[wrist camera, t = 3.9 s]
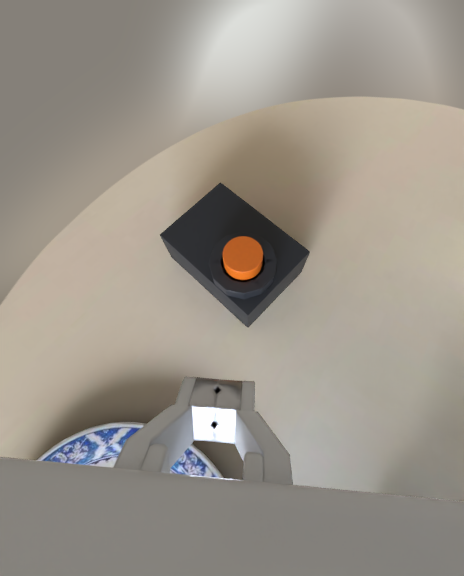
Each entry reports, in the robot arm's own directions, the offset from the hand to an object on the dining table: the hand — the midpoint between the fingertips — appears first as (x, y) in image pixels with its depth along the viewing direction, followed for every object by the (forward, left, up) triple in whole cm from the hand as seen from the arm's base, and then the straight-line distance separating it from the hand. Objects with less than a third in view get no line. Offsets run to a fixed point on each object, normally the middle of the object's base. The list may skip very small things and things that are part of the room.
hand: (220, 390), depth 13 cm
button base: (-12, -11, -22) cm, 28 cm away
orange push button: (-10, -8, -15) cm, 20 cm away
